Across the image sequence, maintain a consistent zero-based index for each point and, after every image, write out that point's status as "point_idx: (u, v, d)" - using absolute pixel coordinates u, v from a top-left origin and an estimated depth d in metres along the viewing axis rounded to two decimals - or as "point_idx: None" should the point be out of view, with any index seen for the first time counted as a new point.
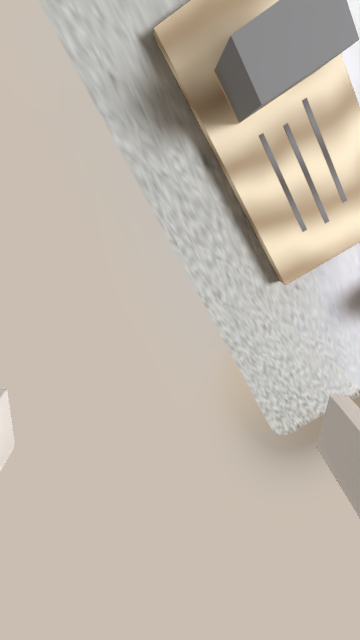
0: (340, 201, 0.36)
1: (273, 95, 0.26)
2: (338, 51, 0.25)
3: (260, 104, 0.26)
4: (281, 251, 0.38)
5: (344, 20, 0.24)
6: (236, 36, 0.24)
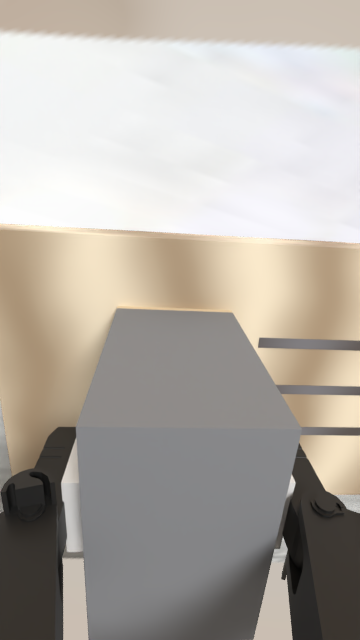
0: None
1: (254, 618, 0.10)
2: (285, 483, 0.08)
3: None
4: None
5: (229, 449, 0.08)
6: (98, 639, 0.10)
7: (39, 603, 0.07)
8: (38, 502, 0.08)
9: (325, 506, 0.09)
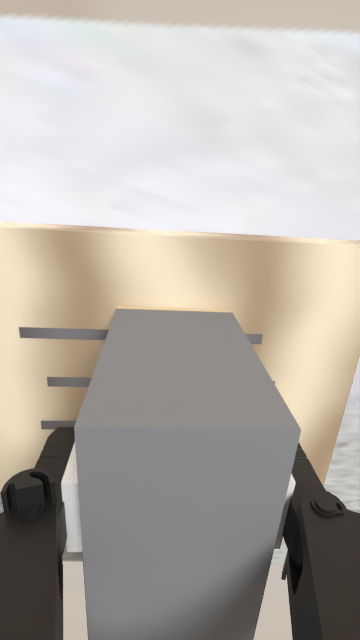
0: (255, 347, 0.16)
1: (254, 619, 0.10)
2: (284, 484, 0.08)
3: None
4: None
5: (228, 449, 0.08)
6: None
7: (39, 603, 0.07)
8: (38, 502, 0.08)
9: (325, 506, 0.09)
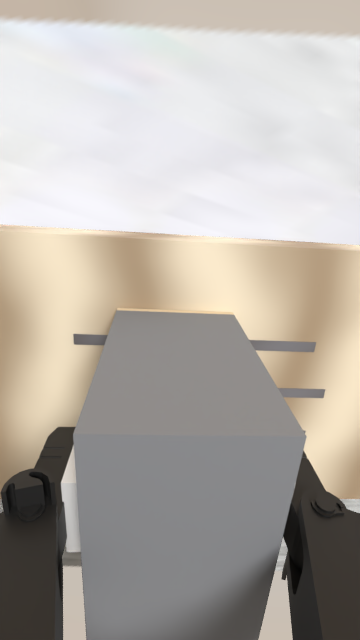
0: (307, 355, 0.16)
1: (256, 629, 0.10)
2: (289, 492, 0.08)
3: None
4: None
5: (231, 456, 0.07)
6: None
7: (39, 603, 0.07)
8: (38, 502, 0.08)
9: (325, 506, 0.09)
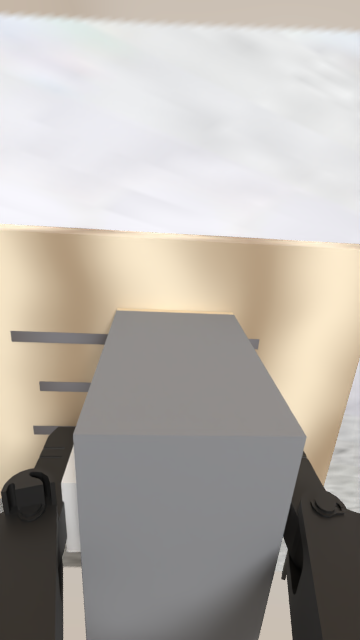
0: None
1: (257, 629, 0.10)
2: (289, 492, 0.08)
3: None
4: None
5: (231, 457, 0.07)
6: None
7: (39, 603, 0.07)
8: (38, 502, 0.08)
9: (325, 506, 0.09)
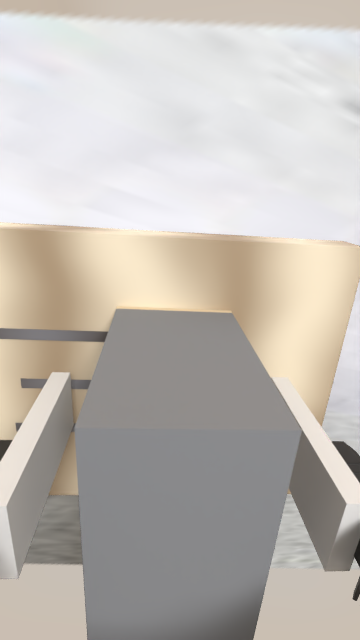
0: None
1: (253, 620, 0.10)
2: (284, 485, 0.08)
3: None
4: None
5: (228, 450, 0.08)
6: None
7: None
8: None
9: None
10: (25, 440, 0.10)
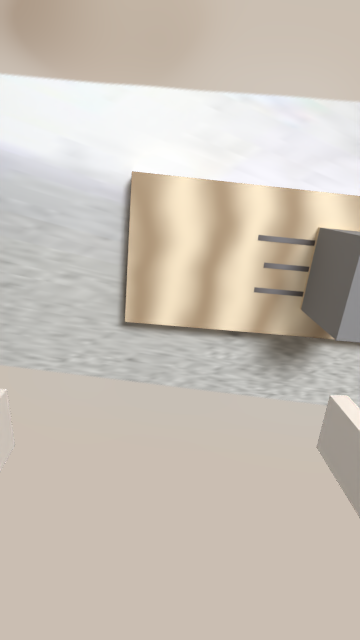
0: None
1: None
2: None
3: None
4: None
5: None
6: (340, 337, 0.27)
7: None
8: None
9: None
10: None
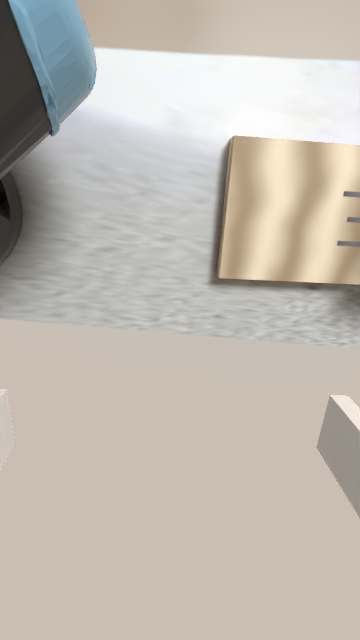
0: None
1: None
2: None
3: None
4: None
5: None
6: None
7: None
8: None
9: None
10: None
